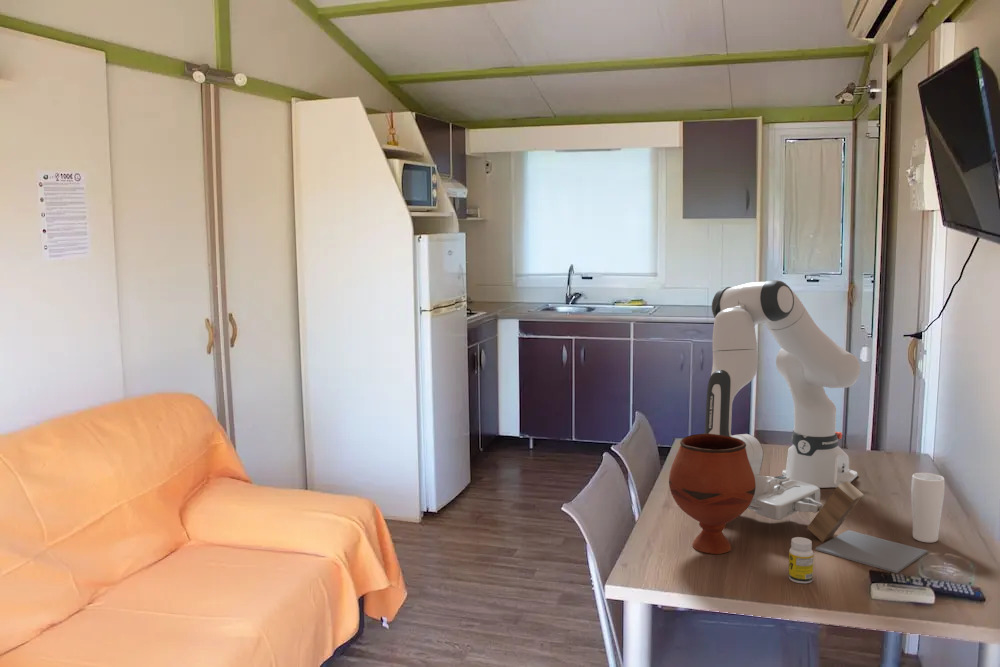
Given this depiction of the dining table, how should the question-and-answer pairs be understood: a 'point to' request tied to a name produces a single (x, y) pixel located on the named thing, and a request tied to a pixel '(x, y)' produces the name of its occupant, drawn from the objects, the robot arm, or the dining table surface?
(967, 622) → the dining table surface
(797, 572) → the supplement bottle
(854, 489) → the light wooden block
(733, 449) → the goblet
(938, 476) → the drinking glass
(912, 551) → the rubber mat
